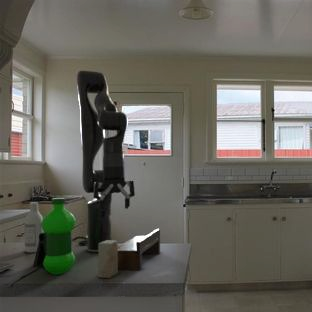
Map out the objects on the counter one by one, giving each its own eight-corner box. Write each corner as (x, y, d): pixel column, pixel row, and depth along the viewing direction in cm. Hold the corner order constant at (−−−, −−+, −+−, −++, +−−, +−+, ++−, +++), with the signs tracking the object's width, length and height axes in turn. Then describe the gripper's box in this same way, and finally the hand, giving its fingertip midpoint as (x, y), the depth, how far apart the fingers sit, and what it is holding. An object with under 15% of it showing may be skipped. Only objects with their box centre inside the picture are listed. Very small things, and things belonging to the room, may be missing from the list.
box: (110, 278, 118) (109, 243, 117) (97, 277, 118) (97, 243, 118) (118, 273, 123) (118, 240, 123) (106, 272, 124) (106, 239, 123)
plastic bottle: (35, 275, 121) (34, 200, 120) (58, 266, 131) (57, 196, 131) (60, 278, 118) (59, 200, 118) (82, 268, 128) (81, 196, 128)
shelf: (112, 269, 127) (111, 241, 127) (136, 252, 149) (136, 228, 149) (139, 270, 126) (139, 242, 126) (160, 252, 148) (160, 229, 147)
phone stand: (33, 265, 131) (32, 232, 131) (47, 261, 137) (47, 229, 137) (51, 268, 128) (50, 234, 128) (65, 263, 133) (64, 231, 133)
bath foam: (39, 247, 157) (39, 201, 157) (47, 250, 153) (46, 202, 152) (22, 251, 152) (21, 202, 151) (29, 253, 147) (28, 204, 147)
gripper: (131, 165, 142) (131, 206, 142) (91, 166, 135) (92, 210, 135) (135, 165, 135) (136, 209, 135) (94, 166, 128) (95, 212, 128)
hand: (114, 209), depth 135 cm, fingers open, 8 cm apart
